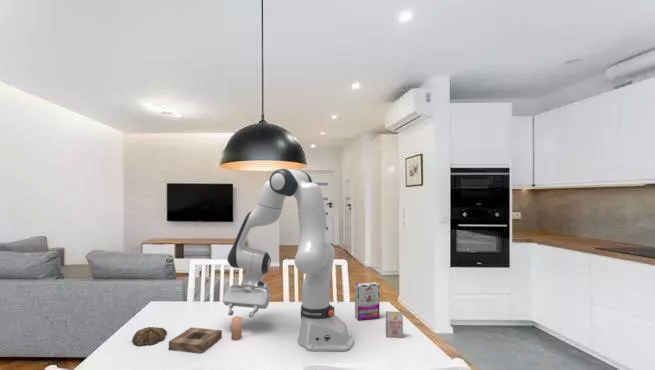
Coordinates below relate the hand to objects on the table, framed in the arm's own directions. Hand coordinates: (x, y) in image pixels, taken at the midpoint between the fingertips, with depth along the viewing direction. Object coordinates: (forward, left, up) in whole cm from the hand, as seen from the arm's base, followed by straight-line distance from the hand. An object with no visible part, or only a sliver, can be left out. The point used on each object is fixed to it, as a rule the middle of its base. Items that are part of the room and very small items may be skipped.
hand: (240, 315), depth 140 cm
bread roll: (+33, +12, -8) cm, 36 cm away
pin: (0, +3, -8) cm, 9 cm away
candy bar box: (-50, -32, -8) cm, 60 cm away
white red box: (-63, -14, -8) cm, 65 cm away
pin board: (+13, +11, -8) cm, 19 cm away
